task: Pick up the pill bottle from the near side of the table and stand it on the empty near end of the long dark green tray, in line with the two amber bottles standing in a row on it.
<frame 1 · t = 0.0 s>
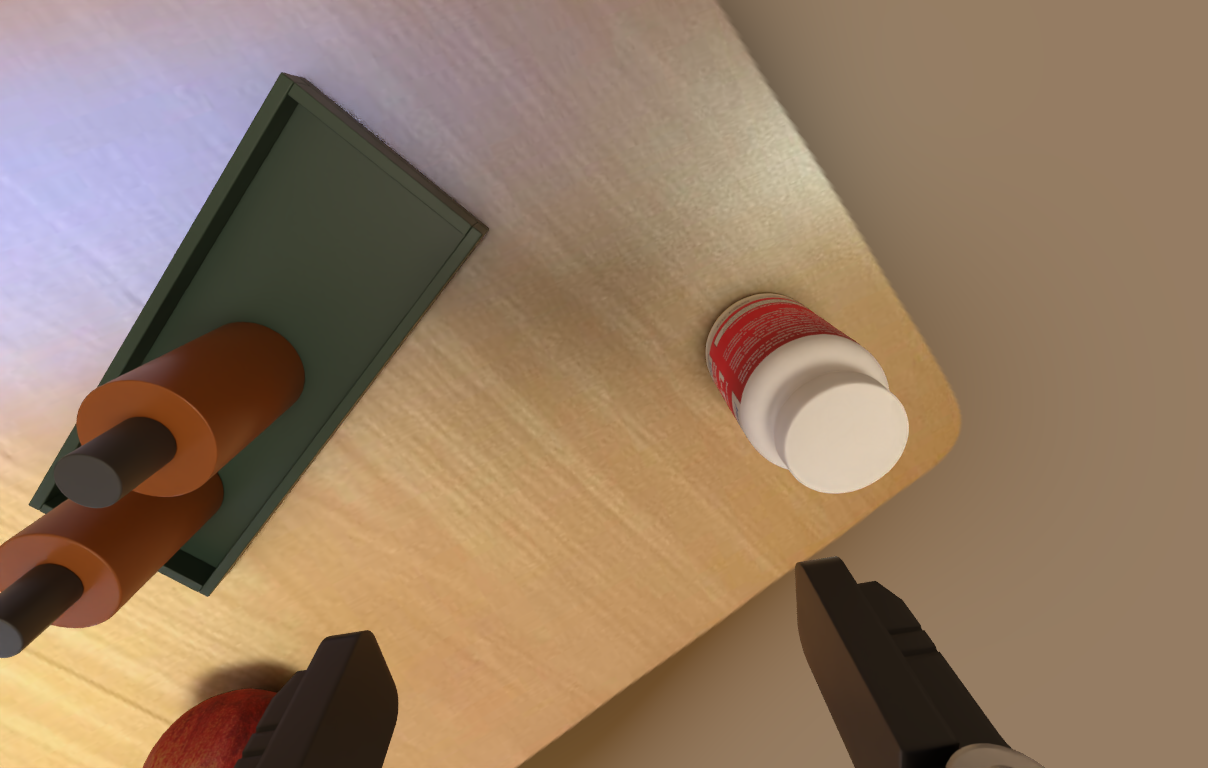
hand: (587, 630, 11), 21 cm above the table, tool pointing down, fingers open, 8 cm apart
amber bottle middle: (253, 369, 30), point 1 cm above the table, touching tray
pill bottle: (758, 345, 32), on the table
fruit: (271, 710, 40), on the table
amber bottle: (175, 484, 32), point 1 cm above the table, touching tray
tray: (259, 365, 31), on the table
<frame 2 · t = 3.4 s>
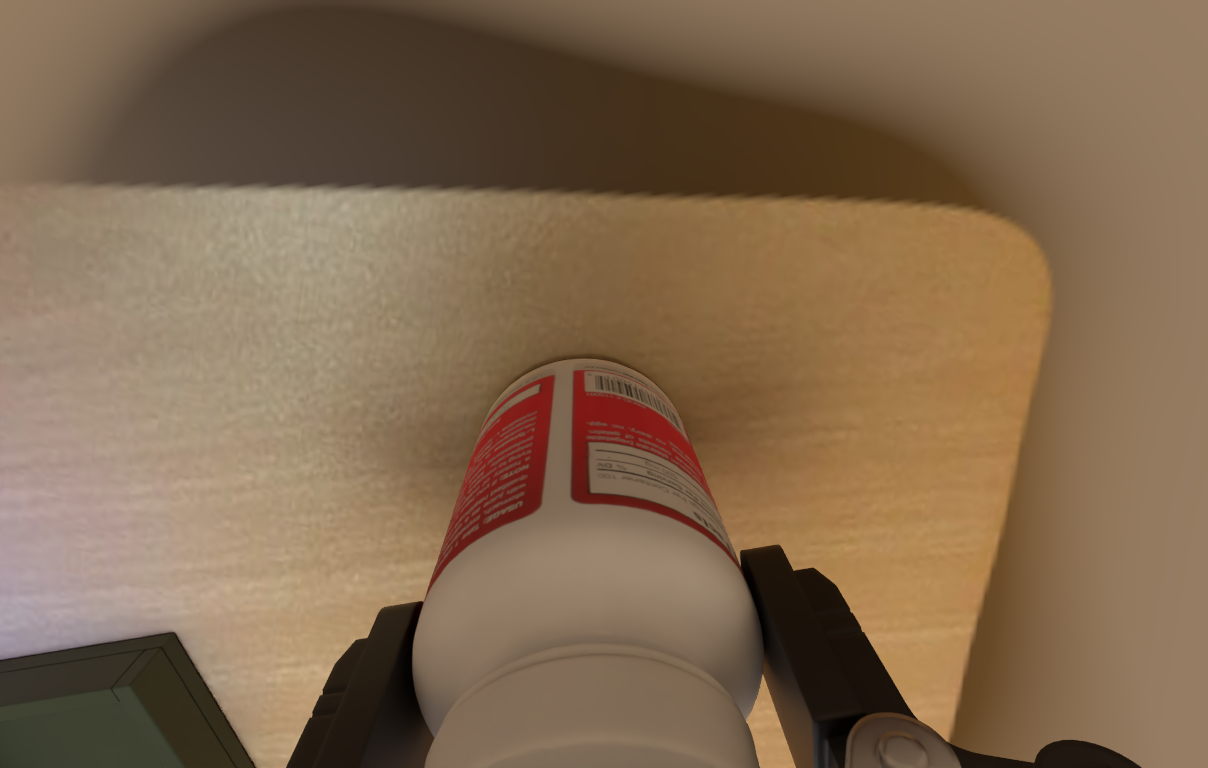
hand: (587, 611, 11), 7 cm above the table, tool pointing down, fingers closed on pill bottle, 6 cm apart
pill bottle: (583, 444, 18), on the table, touching gripper
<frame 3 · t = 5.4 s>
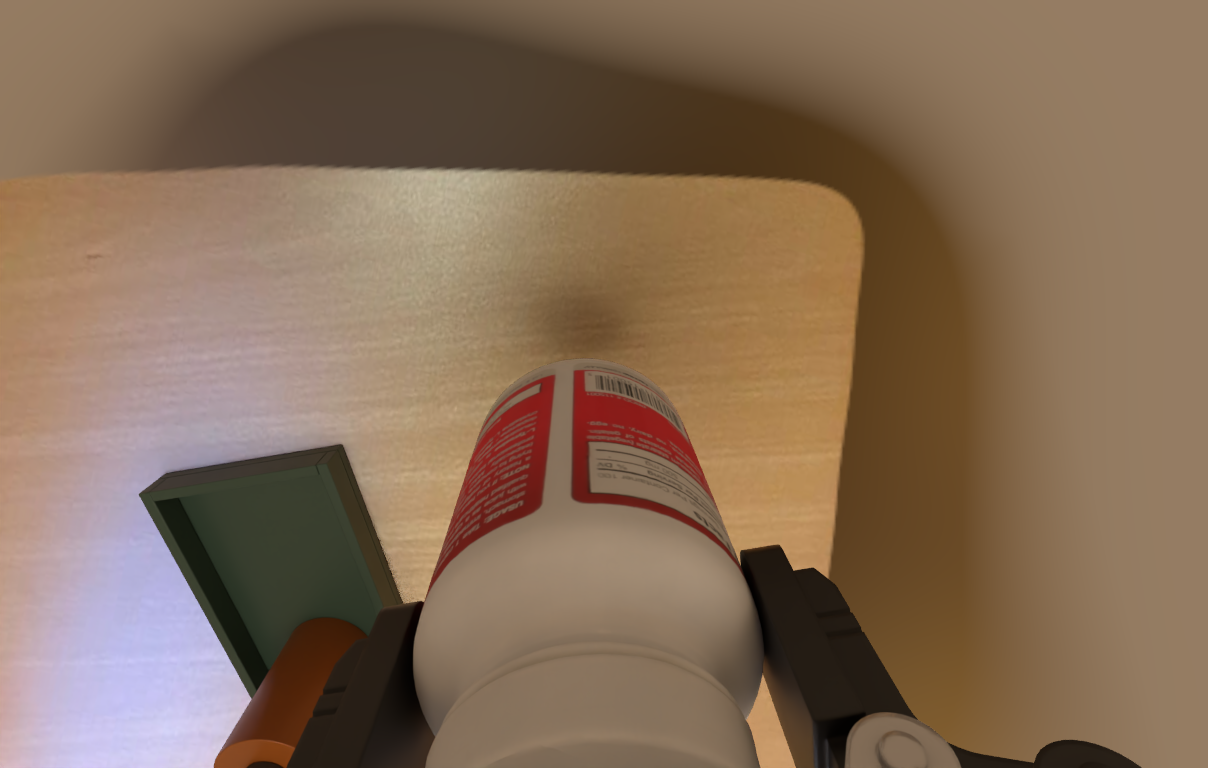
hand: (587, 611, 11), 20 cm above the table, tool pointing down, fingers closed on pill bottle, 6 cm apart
amber bottle middle: (331, 648, 36), point 1 cm above the table, touching tray
pill bottle: (584, 444, 18), point 13 cm above the table, touching gripper
tray: (335, 641, 37), on the table
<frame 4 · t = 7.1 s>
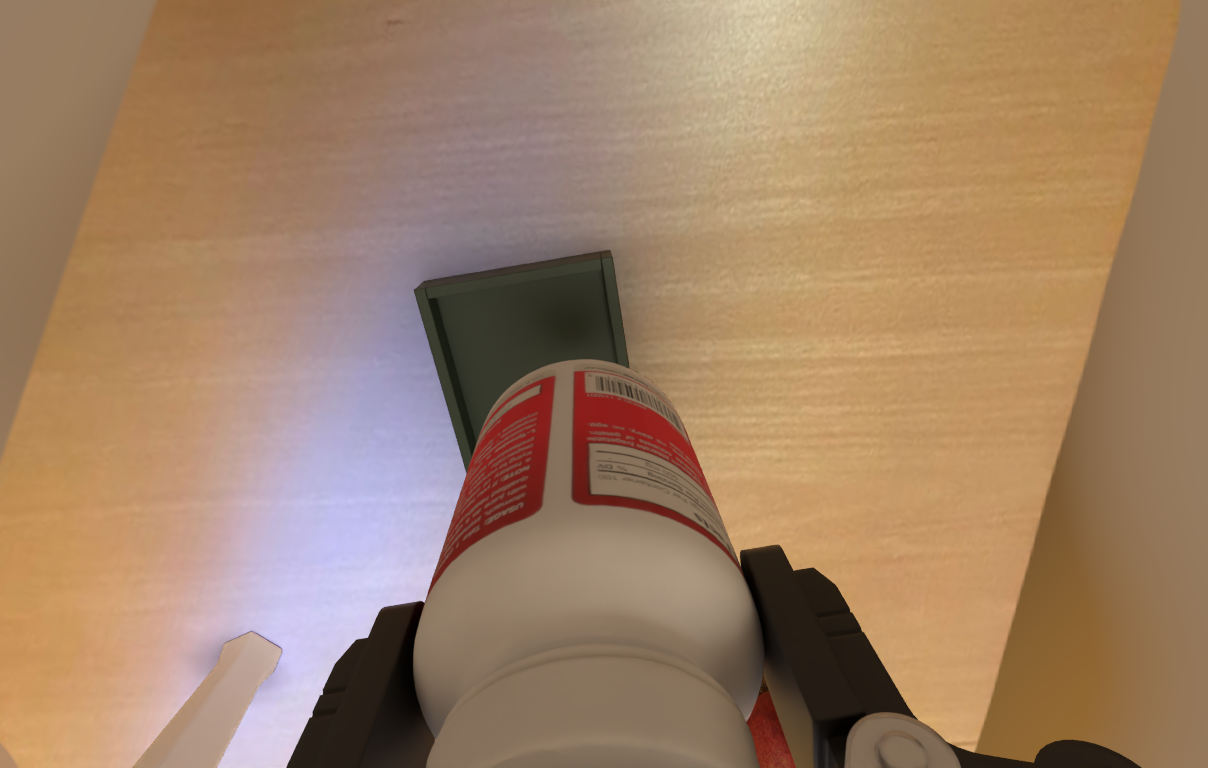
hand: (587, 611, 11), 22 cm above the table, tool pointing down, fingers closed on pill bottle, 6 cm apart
pill bottle: (584, 444, 18), point 15 cm above the table, touching gripper
fruit: (782, 704, 44), on the table
tray: (563, 480, 36), on the table
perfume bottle: (253, 653, 40), on the table
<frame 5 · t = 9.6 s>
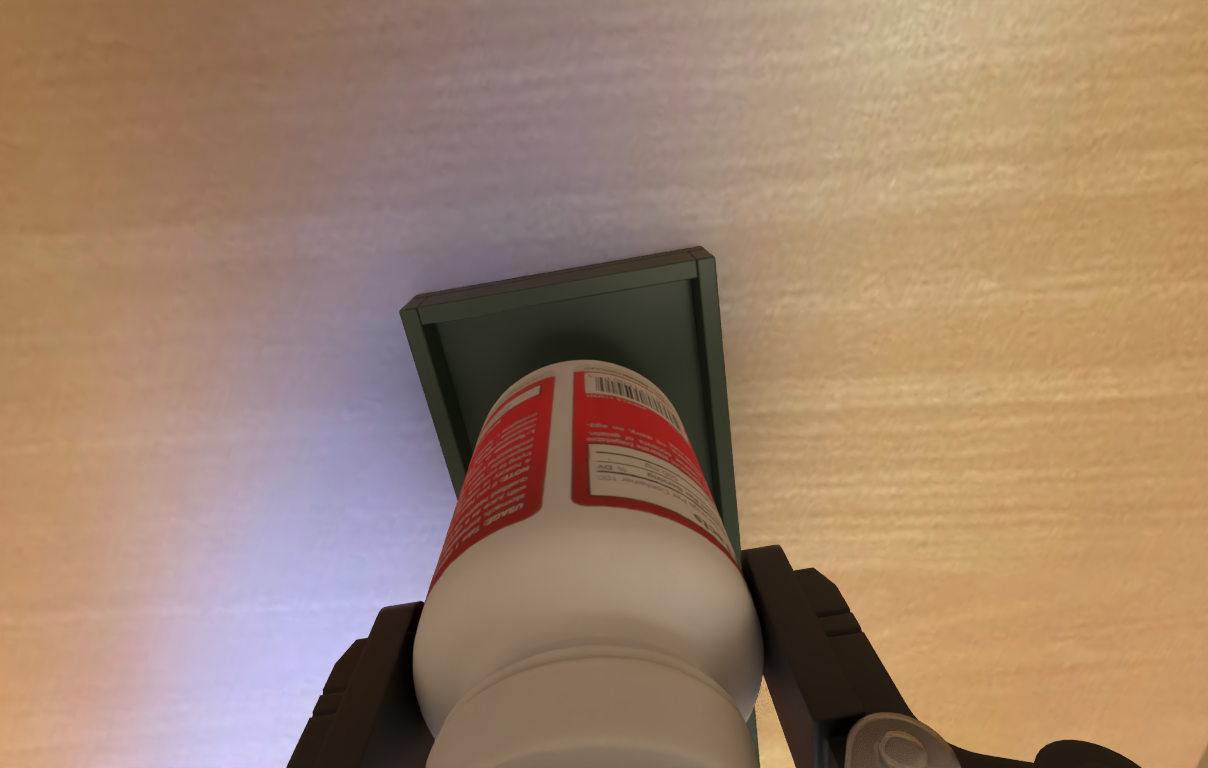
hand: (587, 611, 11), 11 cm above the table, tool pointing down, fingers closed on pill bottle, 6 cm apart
pill bottle: (584, 445, 18), point 5 cm above the table, touching gripper
tray: (617, 575, 25), on the table
when the fingers open (7 cm above the table, at t = 11.2 s): pill bottle stays where it is, resting on tray.
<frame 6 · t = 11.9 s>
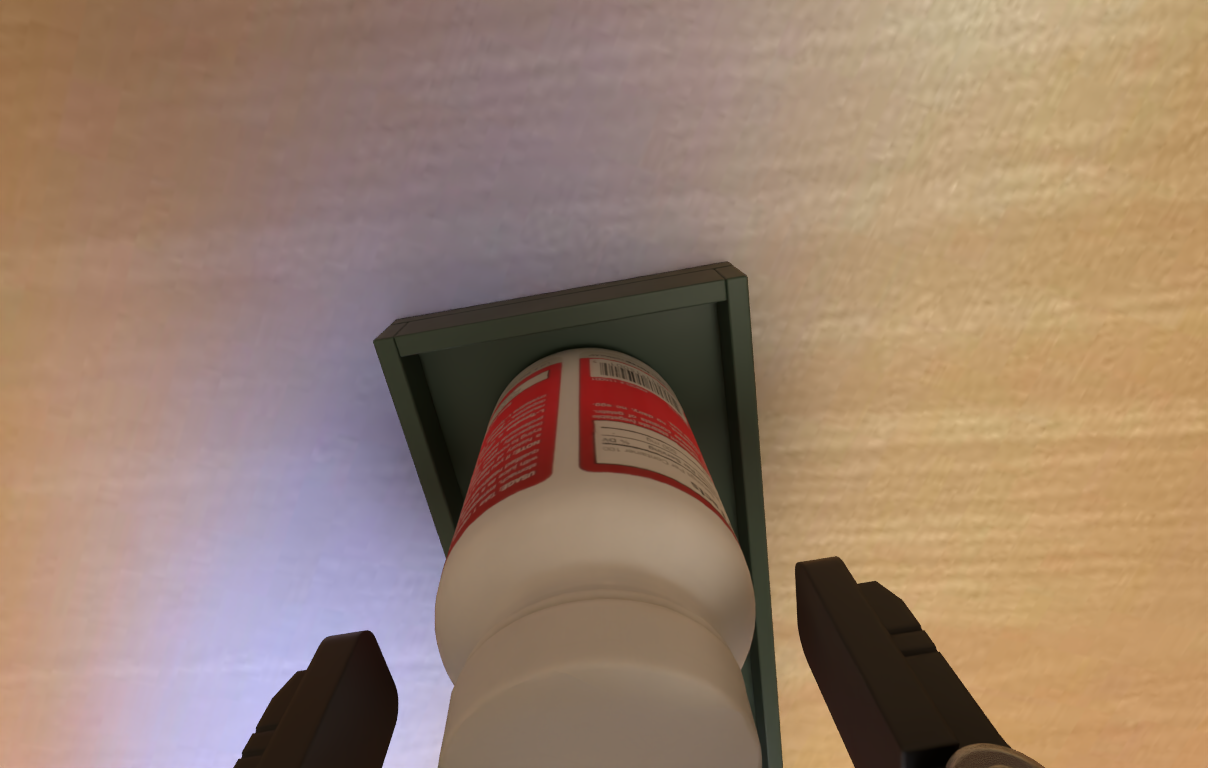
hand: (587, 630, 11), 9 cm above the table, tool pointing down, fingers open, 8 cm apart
pill bottle: (588, 430, 19), resting on tray
tray: (628, 630, 22), on the table
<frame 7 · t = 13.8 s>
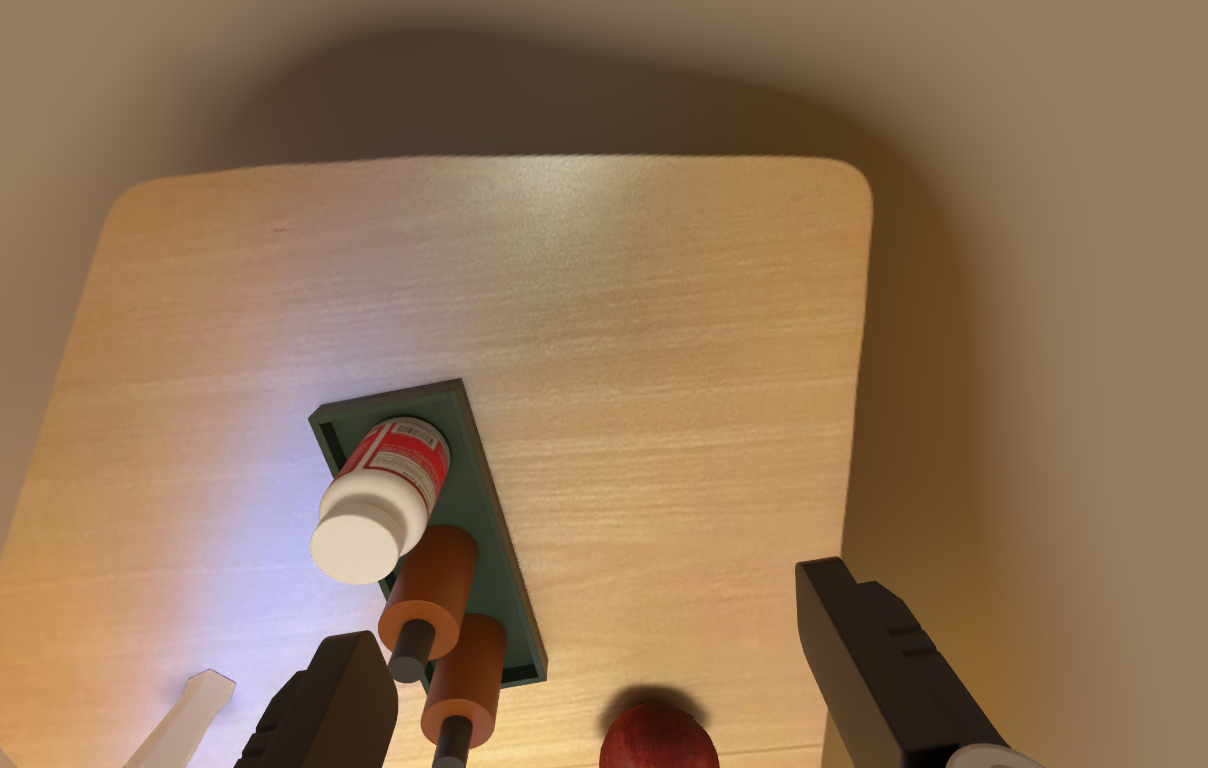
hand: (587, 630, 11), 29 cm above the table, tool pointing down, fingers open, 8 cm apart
amber bottle middle: (445, 552, 45), point 1 cm above the table, touching tray
pill bottle: (409, 450, 41), resting on tray
fruit: (652, 717, 54), on the table
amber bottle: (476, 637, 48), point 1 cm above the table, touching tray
tray: (446, 547, 45), on the table
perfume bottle: (212, 686, 50), on the table
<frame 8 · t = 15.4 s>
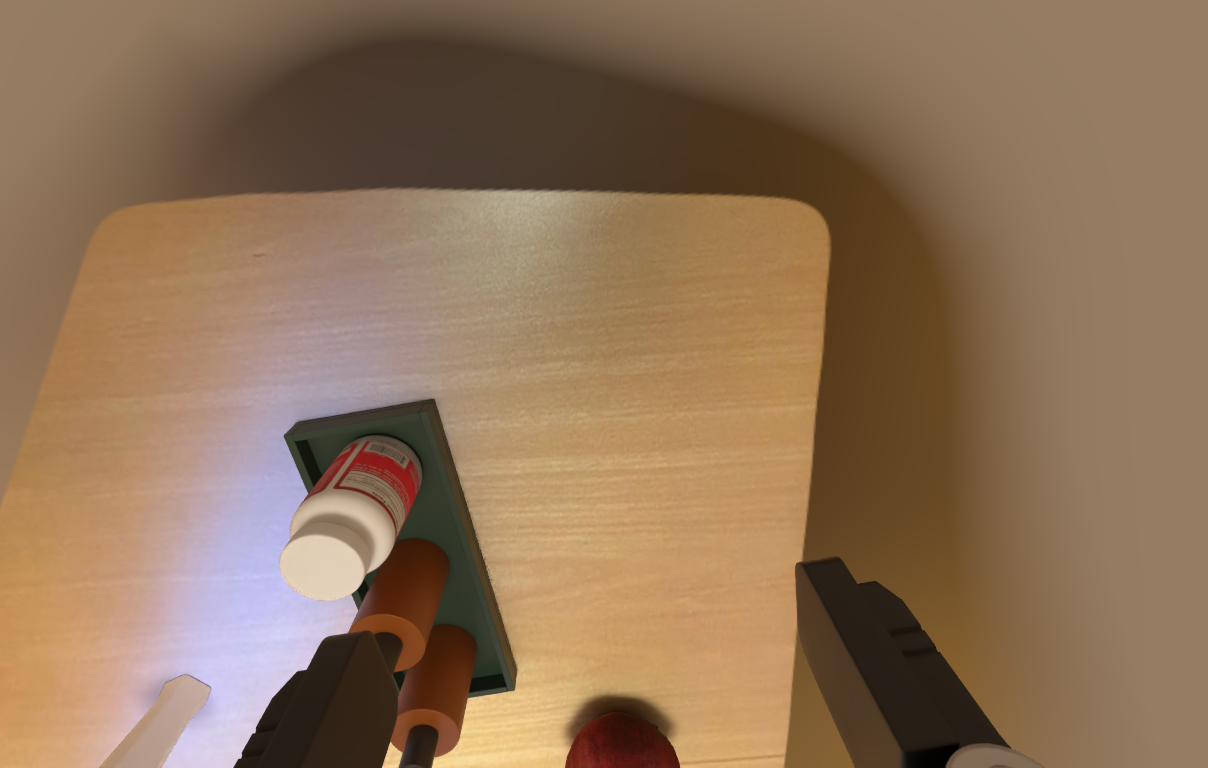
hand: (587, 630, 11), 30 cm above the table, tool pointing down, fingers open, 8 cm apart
amber bottle middle: (417, 564, 46), point 1 cm above the table, touching tray
pill bottle: (383, 467, 43), resting on tray
fruit: (619, 726, 55), on the table
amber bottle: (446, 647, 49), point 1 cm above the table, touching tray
tray: (418, 559, 47), on the table
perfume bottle: (188, 690, 51), on the table
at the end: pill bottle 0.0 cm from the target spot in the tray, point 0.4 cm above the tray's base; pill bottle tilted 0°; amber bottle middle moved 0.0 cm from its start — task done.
